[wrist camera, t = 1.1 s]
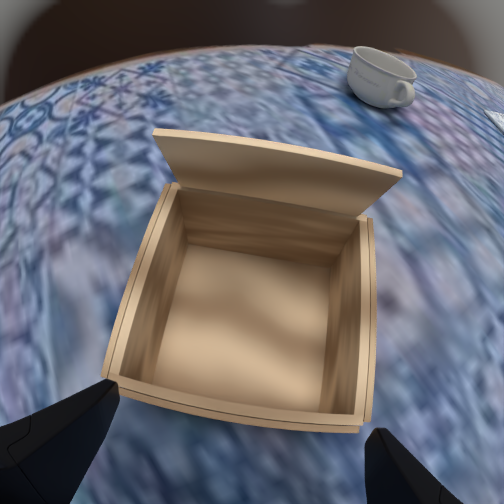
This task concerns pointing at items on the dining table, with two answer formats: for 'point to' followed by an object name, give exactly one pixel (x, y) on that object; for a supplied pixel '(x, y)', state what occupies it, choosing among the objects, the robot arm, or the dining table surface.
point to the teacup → (380, 78)
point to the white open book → (496, 119)
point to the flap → (274, 170)
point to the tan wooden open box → (250, 313)
